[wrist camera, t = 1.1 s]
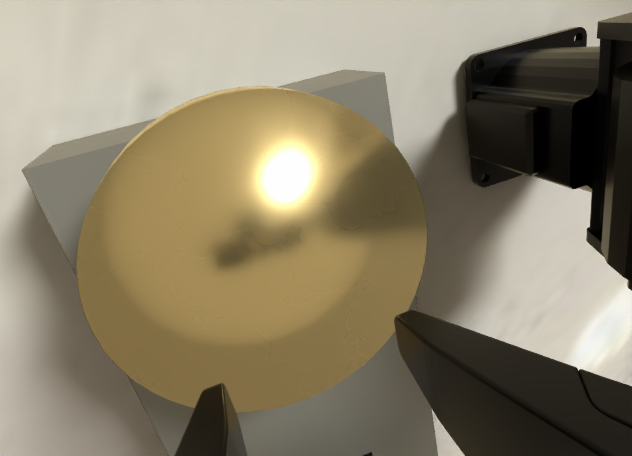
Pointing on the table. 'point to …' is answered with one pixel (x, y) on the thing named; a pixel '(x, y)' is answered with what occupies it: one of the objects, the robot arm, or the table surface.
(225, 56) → the table surface
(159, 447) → the table surface
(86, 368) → the table surface
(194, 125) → the knob
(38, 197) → the panel
